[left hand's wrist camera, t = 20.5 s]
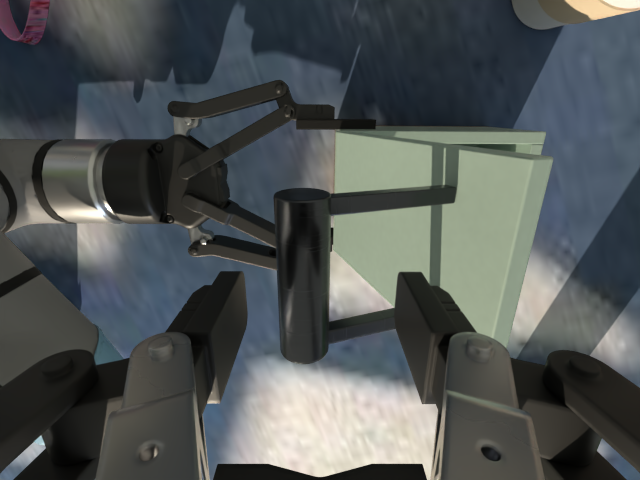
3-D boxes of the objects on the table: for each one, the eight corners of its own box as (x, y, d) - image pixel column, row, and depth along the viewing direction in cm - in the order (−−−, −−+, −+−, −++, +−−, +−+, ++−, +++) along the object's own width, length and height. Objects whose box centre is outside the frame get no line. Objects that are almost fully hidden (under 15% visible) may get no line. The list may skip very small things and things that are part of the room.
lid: (555, 156, 11) (303, 169, 8) (498, 384, 14) (307, 449, 12) (347, 130, 25) (229, 132, 22) (343, 248, 29) (240, 262, 26)
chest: (486, 126, 35) (546, 131, 26) (471, 214, 38) (519, 248, 29) (335, 125, 35) (340, 130, 26) (333, 213, 38) (337, 246, 29)
